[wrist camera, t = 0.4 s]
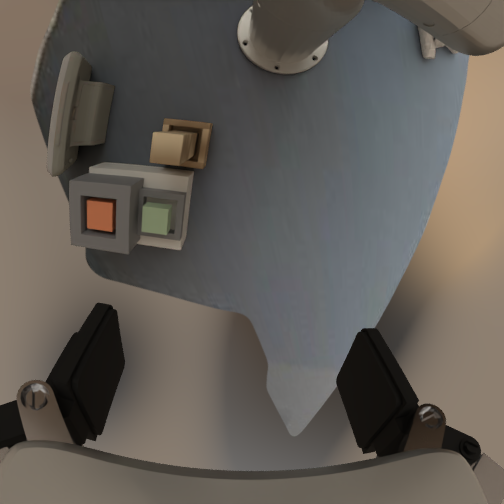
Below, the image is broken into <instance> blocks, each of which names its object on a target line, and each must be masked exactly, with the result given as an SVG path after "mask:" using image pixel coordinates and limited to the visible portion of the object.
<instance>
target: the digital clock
mask: <svg viewBox="0 0 504 504" xmlns="http://www.w3.org/2000/svg"><path fill="white" fill-rule="evenodd" d="M91 71H92V67H91V65H90V64H89V63H88V62H87V60H86V59H85V58H84V57H83V56H82V55H81V54H80V53H78V52H74V51H72V52H71V53H69V54H68V55H67V56H65V57H64V59H63V62H62V66H61V70H60V74H59V78H58V83H57V88H56V93H55V98H54V104H53V110H52V117H51V124H50V132H49V141H48V152H47V171H48V172H49V173H50V174H51V175H52V176H58V175H60V174H62V173H63V172H64V171H65V170H66V169H68V168H69V167H70V166H71V165H72V164H73V163H74V162H75V161H76V160H77V155H78V147H79V146H81V145H97V144H102V143H105V138H106V132H107V125H108V119H109V113H110V108H111V103H112V98H113V93H114V88H115V86H114V85H110V84H107V83H102V82H91V81H89V80H90V76H91Z"/></svg>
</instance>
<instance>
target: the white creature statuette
mask: <svg viewBox="0 0 504 504" xmlns="http://www.w3.org/2000/svg"><path fill="white" fill-rule="evenodd" d="M418 31H419V36H420V43H421V49H422V55H423V57H424V58H426V59H434V58H435V53H436V51H435V49H436V48H439V47H442V46H445V44H443V43H442V42H440V41H439V40H437V39H436V38H435V40H433V38H434V37H433V36H432V35H430V34H429V33H427V32H426V31H424V30H423V29H421V28H420V27H418ZM446 47H447V48H448V49H449V50H450V51H451V52H452V53H453V54H456V53H458V52H457V51H455V50H453V49H451V48H450V47H448V46H446Z"/></svg>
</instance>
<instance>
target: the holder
mask: <svg viewBox="0 0 504 504" xmlns="http://www.w3.org/2000/svg"><path fill="white" fill-rule="evenodd" d="M212 125H213V124H211V123H204V122H196V121H187V120H177V119H165V118H164V123H163V129H162V131H187V132H195V133H199V137H198V143H197V150H196V155H194V156H193V157H191V158H190V159H188V160H187V161H185V162H184V163H182V164H181V165H179V166H183V167H191V168H199V169H203V168H204V167H205V166H206V161H207V154H208V148H209V142H210V136H211V130H212ZM158 164H160V163H158ZM166 165H169V164H166ZM175 166H178V165H175Z"/></svg>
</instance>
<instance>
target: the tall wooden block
mask: <svg viewBox="0 0 504 504" xmlns="http://www.w3.org/2000/svg"><path fill="white" fill-rule="evenodd" d="M198 137H199V133H195V132H187V131H162V132H153V138H152V146H151V154H150V163H160V164H169V165H178V166H179V165H181V164H182V163H184V162H185V161H187V160H188V159H190V158H191V157H193V156H194V155H196V150H197V143H198Z"/></svg>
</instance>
